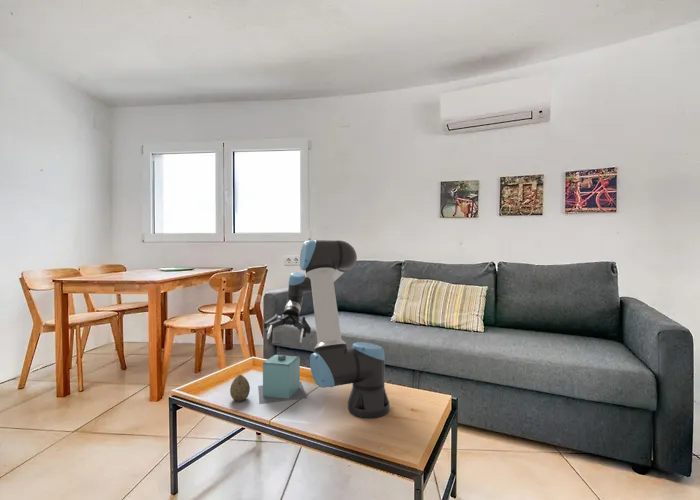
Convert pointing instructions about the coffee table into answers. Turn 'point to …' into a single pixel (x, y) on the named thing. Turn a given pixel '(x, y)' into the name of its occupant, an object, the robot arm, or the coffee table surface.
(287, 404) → the coffee table surface
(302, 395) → the mat
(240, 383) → the decorative egg
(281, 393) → the teal box with knob
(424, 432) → the coffee table surface
